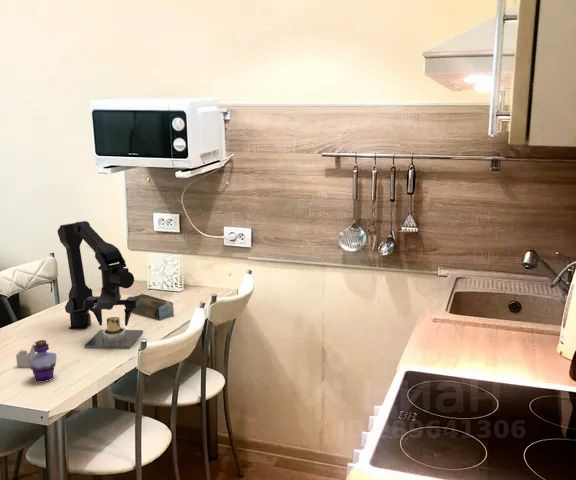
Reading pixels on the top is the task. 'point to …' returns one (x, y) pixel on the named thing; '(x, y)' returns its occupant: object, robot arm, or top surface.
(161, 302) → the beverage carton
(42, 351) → the potion bottle
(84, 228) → the robot arm
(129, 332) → the ring block
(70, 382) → the top surface
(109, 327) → the tan cylinder
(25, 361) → the grey notched block
